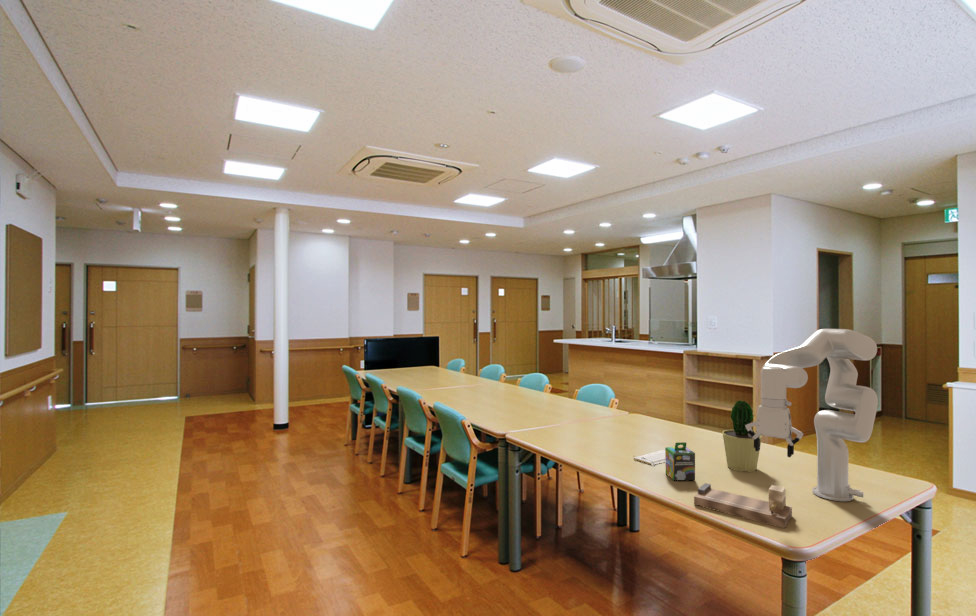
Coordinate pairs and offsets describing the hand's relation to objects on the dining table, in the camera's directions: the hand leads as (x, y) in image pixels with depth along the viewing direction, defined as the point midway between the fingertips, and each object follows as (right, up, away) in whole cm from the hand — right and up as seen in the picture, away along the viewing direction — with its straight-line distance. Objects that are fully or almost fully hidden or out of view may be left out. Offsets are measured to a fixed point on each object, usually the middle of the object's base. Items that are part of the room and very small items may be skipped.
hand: (773, 453), depth 166 cm
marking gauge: (-1, -20, -3) cm, 20 cm away
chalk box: (-18, -21, +36) cm, 45 cm away
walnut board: (-9, -21, +3) cm, 23 cm away
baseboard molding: (-14, -21, +63) cm, 68 cm away
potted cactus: (+14, -21, +48) cm, 54 cm away
